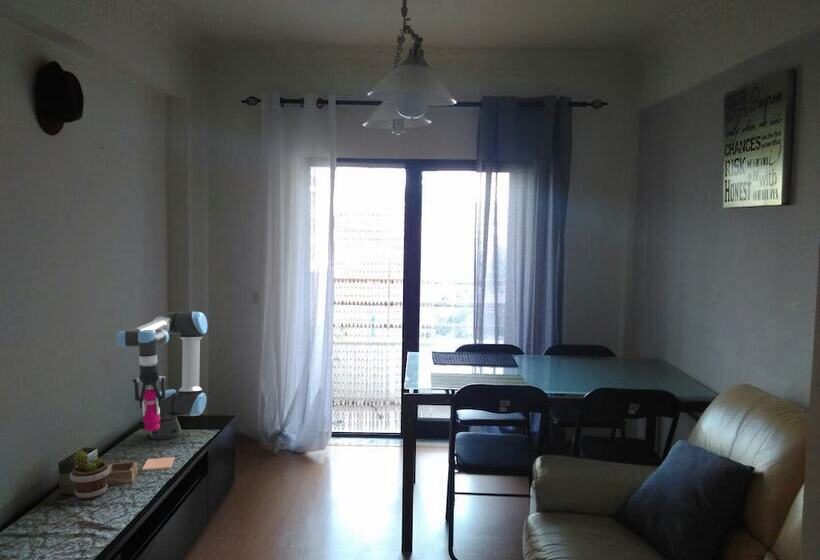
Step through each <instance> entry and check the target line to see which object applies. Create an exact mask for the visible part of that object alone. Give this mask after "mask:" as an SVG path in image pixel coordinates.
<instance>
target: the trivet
mask: <svg viewBox="0 0 820 560" xmlns="http://www.w3.org/2000/svg"><path fill="white" fill-rule="evenodd" d="M175 459H176V458H175V456H172V457H171V456H170V457H159V458H148V459H146V461H145V462H144V464H143V467H142V469H141V471H142V472H144V471H153V470H154V471H155V470H165V469H167V470H168V469H171V468H172V466H173V463H174V461H175Z"/></svg>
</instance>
